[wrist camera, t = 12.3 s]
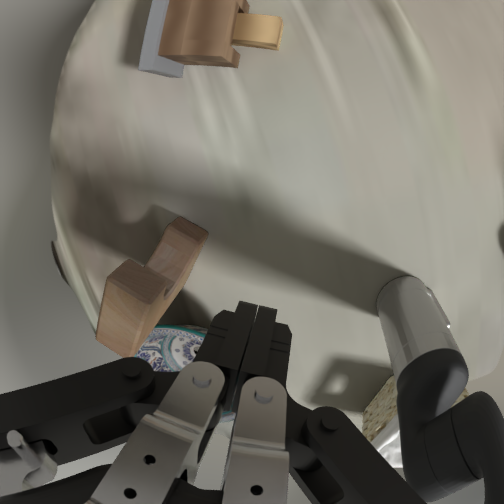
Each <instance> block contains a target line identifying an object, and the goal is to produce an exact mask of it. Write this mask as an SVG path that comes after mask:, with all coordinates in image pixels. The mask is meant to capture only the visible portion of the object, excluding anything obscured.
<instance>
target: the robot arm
mask: <svg viewBox="0 0 504 504" xmlns="http://www.w3.org/2000/svg"><path fill="white" fill-rule="evenodd" d="M376 306H377V311H378V315H379V318H380V322H381V326H382V329H383V333H384V337H385V341H386V345H387V348H388V352H389V356H390V361H391V365H392V369H393V373H394V377H395V382H396V386H397V392H398V394H397V400H396V404H397V412H398V420H399V430H400V444H401V457H402V465H403V471H404V475H405V478H406V481H405V480H404V479H403V478H402V477H401V476H400V475H399V474H398V473H397V472H396V470H395V469H394V468H393V467H392V466H391V465H390V464H389V463H388V462H387V461H386V460H385V458H384V457H383V456H382V455H381V454H380V453H379V452H378V451H377V450H376V449H375V447H374V446H373V445H372V444H371V443H370V442H369V441H368V440H367V438H366V437H365V436H364V435H363V434H362V433H361V432H360V431H359V429H358V428H357V427H356V426H355V425H354V424H353V423H352V422H351V420H350V419H349V418H348V417H347V416H346V415H345V414H344V413H343V412H342V411H340V410H338V409H336V408H333V407H327V406H326V407H319V408H316V409H314V410H313V411H312V410H310V409H308V408H306V407H304V406H302V405H300V404H298V403H297V402H295V401H294V400H293V399H292V398H291V397H290V396H289V394H288V392H287V389H286V379H287V371H288V363H289V355H290V347H291V339H292V333H291V331H290V329H289V327H288V325H286V324H281V323H277V322H275V319H276V314H277V309H273V308H269V307H265V306H260V305H259V308H258V312H257V307H258V305H256V304H252V303H247V302H243V301H239V303H238V306H237V308H236V311H235V313H234V312H230V311H226V310H223V311H221V312H220V313H218V314H217V315H216V316H214V319H213V321H212V323H211V325H210V327H209V329H208V331H207V334H206V335H205V337H204V339H203V342H202V344H201V346H200V348H199V350H198V352H197V354H196V356H195V358H194V360H193V362H192V363H189V364H187V365H186V366H185V367H183V369H182V370H180V371H176V372H162V371H154V370H153V368H152V366H151V365H150V363H148V362H147V361H146V360H144V359H141V358H138V357H126V358H122V359H119V360H116V361H113V362H110V363H107V364H104V365H101V366H98V367H95V368H91V369H88V370H85V371H82V372H79V373H75V374H72V375H69V376H65V377H62V378H59V379H56V380H52V381H48V382H45V383H41V384H38V385H34V386H31V387H27V388H23V389H19V390H15V391H12V392H8V393H4V394H0V504H287V494H288V493H287V492H288V477H289V473H290V475H291V476H292V477H293V479H294V480H295V482H296V483H297V484H298V486H299V487H300V488H301V489H302V491H303V492H304V494H305V495H306V496H307V498H308V499H309V500H310V502H311V503H312V504H427V503H426V502H433V501H436V500H439V499H441V498H444V497H446V496H448V495H450V494H452V493H455V492H456V491H458V490H461V489H462V488H465V487H466V486H469V485H470V484H472V483H474V482H476V481H478V480H479V479H481V478H483V477H484V484H485V502H484V504H504V418H503V416H502V414H501V412H500V410H499V408H498V406H497V404H496V402H495V401H494V400H493V398H492V397H491V396H490V395H488V394H487V393H485V392H482V391H479V392H475V393H473V394H471V395H469V396H468V397H466V398H465V399H463V400H462V401H460V402H459V403H457V404H456V405H454V406H453V407H451V406H452V405H453V404H454V403H455V401H456V400H457V399H458V398H459V396H460V395H461V394H462V392H463V390H464V389H465V387H466V384H467V382H468V376H469V373H468V368H467V365H466V363H465V360H464V358H463V356H462V354H461V352H460V350H459V348H458V346H457V344H456V342H455V340H454V338H453V336H452V334H451V332H450V330H449V327H450V322H449V320H448V318H447V316H446V314H445V313H444V311H443V309H442V307H441V306H440V304H439V302H438V300H437V299H436V297H435V295H434V293H433V292H432V290H430V289H427V288H426V286H425V285H424V283H423V282H422V281H421V280H419V279H417V278H415V277H411V276H404V277H399V278H396V279H394V280H392V281H391V282H389V283H388V284H387V285H386V286H384V288H383V289H382V290H381V292H380V293H379V295H378V298H377V304H376ZM256 312H257V315H256ZM255 317H256V319H255ZM254 321H255V322H254ZM235 391H236V393H235ZM234 395H235V397H234ZM233 398H234V402H233V407H232V411H231V412H234V413H236V415H235V419H234V423H233V428H232V432H231V437H230V443H229V448H228V453H227V458H226V463H225V469H224V474H223V479H222V483H221V487H220V490H203V489H199V488H197V487H195V486H193V484H194V481H195V479H196V476H197V472H198V469H199V467H200V464H201V462H202V460H203V457H204V455H205V453H206V451H207V449H208V446H209V444H210V442H211V440H212V437H213V435H214V433H215V431H216V428H217V425H218V423H219V421H220V419H221V416H222V412H223V410H226V411H230V408H231V405H232V401H233ZM125 442H126V444H125V446H124V447H123V448H122V450H121V451H120V453H119V455H118V456H117V458H116V459H115V461H114V462H113V464H106V465H101V466H97V467H95V468H92V469H89V470H86V471H84V472H81V473H78V474H76V475H73V476H70V477H67V478H64V479H61V480H58V481H55V482H52V483H49V484H46V485H43V484H45V483H47V482H49V481H52V480H53V479H54V477H55V475H56V473H57V466H58V465H62V464H65V463H68V462H71V461H75V460H78V459H81V458H84V457H87V456H90V455H93V454H96V453H99V452H101V451H104V450H107V449H110V448H112V447H115V446H117V445H120V444H123V443H125Z"/></svg>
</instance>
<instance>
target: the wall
mask: <svg viewBox="0 0 504 504" xmlns="http://www.w3.org/2000/svg"><path fill="white" fill-rule="evenodd" d="M168 4H169V0H152V4H151V8H150V13H149V17H148V21H147V26H146V30H145V35H144V40H143V45H142V50H141V56H140V62H139V68H138V70H140V71H145V72H149V73H154V74H158V75H162V76H166V77H176V78H182V74H183V68H184V65H183V64H180V63H178V62H175V61H172V60H170V59H167V58H164V57H161V56H159V55H158V51H159V45H160V40H161V35H162V30H163V26H164V21H165V17H166V12H167V8H168Z"/></svg>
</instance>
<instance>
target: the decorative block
mask: <svg viewBox="0 0 504 504" xmlns="http://www.w3.org/2000/svg"><path fill="white" fill-rule="evenodd" d="M207 236H208V232H207V231H205V230H204V229H202V228H200V227H198V226H196V225H195V224H193V223H191V222H189V221H187V220H186V219H184V218H182V217H178V218H177V219H175V220H174V221H173V222H172V223H170V224H169V225H168V226H167V227H166V229H165V231H164V233H163V235H162V238H161V240H160V242H159V243H158V245H157V247H156V249H155V250H154V252H153V254H152V255H151V257H150V258H149V260H148V261H147V263H146V265H145V266H144V267H142V266H141V265H139V264H137V263H136V262H134V261H132V260H131V259H128V260H126V261H125V262H124V263H122V264H121V265H120V266H119V267H118V268H117V269H116V270H114V271H113V272H112V273H111V274H110V275H109V276H108V277H107V279H106V284H105V288H104V293H103V298H102V303H101V308H100V313H99V318H98V324H97V330H96V340H97V341H99V342H100V343H102V344H103V345H105V346H106V347H108V348H109V349H111V350H112V351H114V352H116V353H117V354H119V355H120V356H122V357H123V358H126V357H134V356H135V355H136V353H137V352H138V350H139V349H140V347H141V346H142V344H143V343H144V341H145V340H146V339H147V337H148V336H149V334H150V333H151V331H152V330H153V328H154V327H155V326H156V324H157V323H158V321H159V320H160V318H161V317H162V316H163V314H164V313H165V311H166V310H167V308H168V307H169V306H170V304H171V303H172V301H173V300H174V299H175V297H176V296H177V294H178V293H179V292H180V290H181V289H182V287H183V286H184V285H185V283H186V281H187V279H188V277H189V274H190V272H191V270H192V268H193V266H194V264H195V262H196V260H197V257H198V255H199V253H200V251H201V249H202V247H203V245H204V243H205V241H206V239H207Z"/></svg>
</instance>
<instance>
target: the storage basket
mask: <svg viewBox="0 0 504 504" xmlns="http://www.w3.org/2000/svg"><path fill="white" fill-rule="evenodd" d="M397 394H398V392H397V386H396V382H395V377H394V375H393V376H391V377H390V378H389V379H388V380H387V382H386V384H385V385H384V386H383V387H382V388H381V390H380V391H379V392H378V393H377V395H376V396H375V398H374V399H373V400H372V401H371V403H370V404H369V405H368V406H367V407H366V409H365V411H364V413H363V426H362V430H363V432H362V434H363V435H364V436H365V437H366V438H367V440H368V441H369V442H370V443H371V444H372V445H373V446H374V447H375V449H376V450H377V451H378V452H379V453H380V454H381V455H382V456H383V457H384V458H385V460H386V461H387V462H388V463H389V464H390V465H391V466H392V467H403V465H402V457H401V444H400V430H399V420H398V412H397V404H396V400H397ZM468 396H469V393H468V392H467V390H466V388H465V389H464V390H463V392H462V394H461V395H460V396H459V398H458V399H457V400H456V401H455V403H454V404H453V405H452V406H451V407H453V406H454V405H456V404H457V403H459V402H460V401H462V400H463V399H465V398H466V397H468Z"/></svg>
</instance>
